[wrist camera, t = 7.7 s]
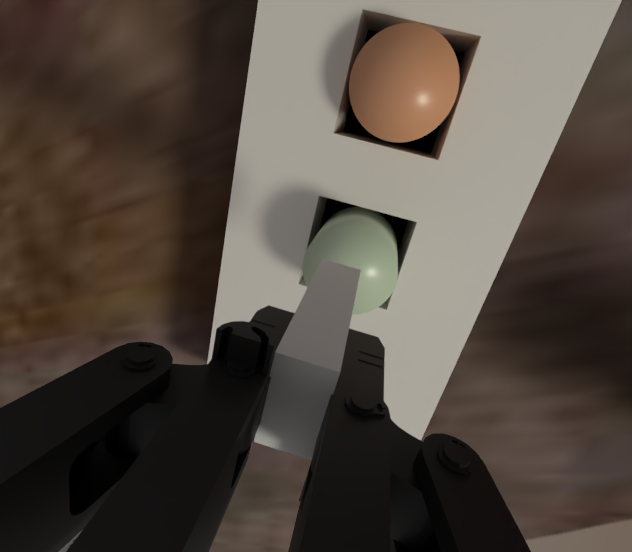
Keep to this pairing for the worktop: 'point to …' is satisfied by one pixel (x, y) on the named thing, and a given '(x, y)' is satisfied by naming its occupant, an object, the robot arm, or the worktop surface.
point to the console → (400, 166)
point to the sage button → (358, 253)
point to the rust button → (404, 82)
